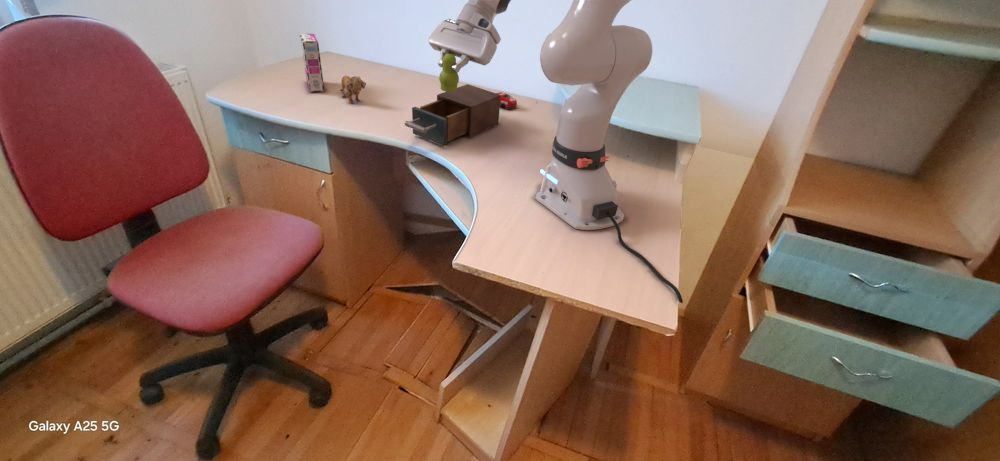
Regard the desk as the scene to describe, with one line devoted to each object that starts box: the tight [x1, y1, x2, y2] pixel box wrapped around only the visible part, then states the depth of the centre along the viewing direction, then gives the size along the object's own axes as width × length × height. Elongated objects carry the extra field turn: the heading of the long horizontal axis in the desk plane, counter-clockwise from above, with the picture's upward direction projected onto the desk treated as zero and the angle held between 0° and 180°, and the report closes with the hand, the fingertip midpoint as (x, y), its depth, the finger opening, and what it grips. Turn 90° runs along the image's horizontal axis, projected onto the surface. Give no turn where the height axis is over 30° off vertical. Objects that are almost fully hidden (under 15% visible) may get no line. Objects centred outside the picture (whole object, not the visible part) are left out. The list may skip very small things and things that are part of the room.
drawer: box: [404, 99, 469, 147], centre depth 130 cm, size 19×12×8 cm, turn 145°
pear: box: [438, 49, 460, 92], centre depth 124 cm, size 5×5×11 cm
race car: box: [495, 92, 518, 110], centre depth 158 cm, size 13×5×4 cm, turn 53°
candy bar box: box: [299, 33, 326, 93], centre depth 153 cm, size 11×5×16 cm, turn 25°
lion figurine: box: [340, 75, 367, 105], centre depth 149 cm, size 15×5×9 cm, turn 44°
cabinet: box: [436, 83, 501, 139], centre depth 139 cm, size 15×13×10 cm
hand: (447, 68), depth 123 cm, fingers closed on pear, 3 cm apart
